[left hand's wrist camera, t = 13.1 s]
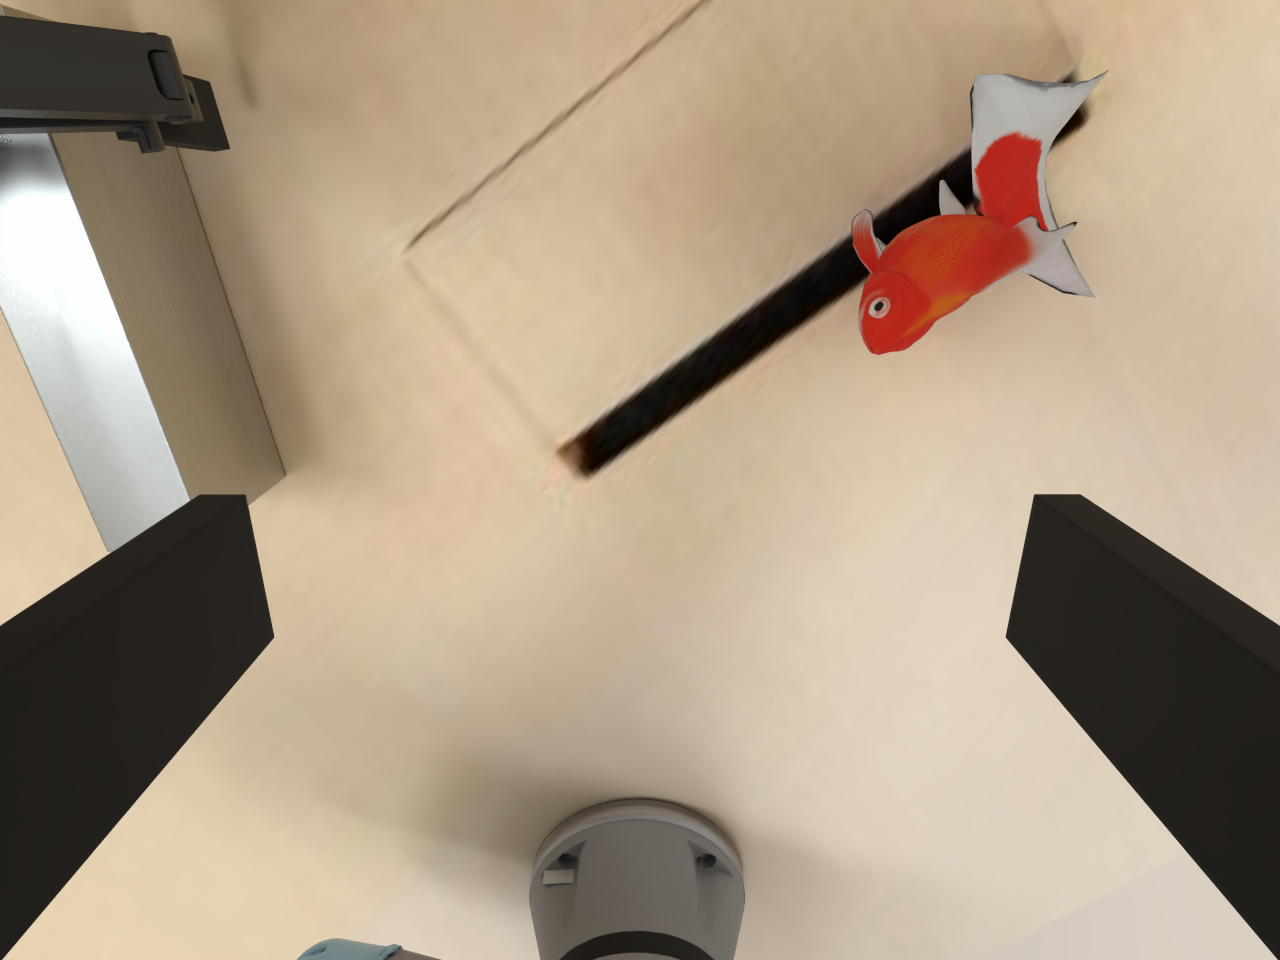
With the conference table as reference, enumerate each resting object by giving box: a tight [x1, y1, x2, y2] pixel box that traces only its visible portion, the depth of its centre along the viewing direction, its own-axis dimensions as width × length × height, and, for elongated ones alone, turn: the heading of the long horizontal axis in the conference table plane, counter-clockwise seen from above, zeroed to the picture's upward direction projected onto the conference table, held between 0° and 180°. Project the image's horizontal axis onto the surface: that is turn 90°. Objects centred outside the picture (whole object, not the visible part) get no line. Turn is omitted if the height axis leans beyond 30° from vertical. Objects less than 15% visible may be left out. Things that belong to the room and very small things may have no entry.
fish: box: [851, 70, 1109, 355], centre depth 34 cm, size 11×16×10 cm
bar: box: [0, 5, 285, 552], centre depth 35 cm, size 22×5×9 cm, turn 8°
